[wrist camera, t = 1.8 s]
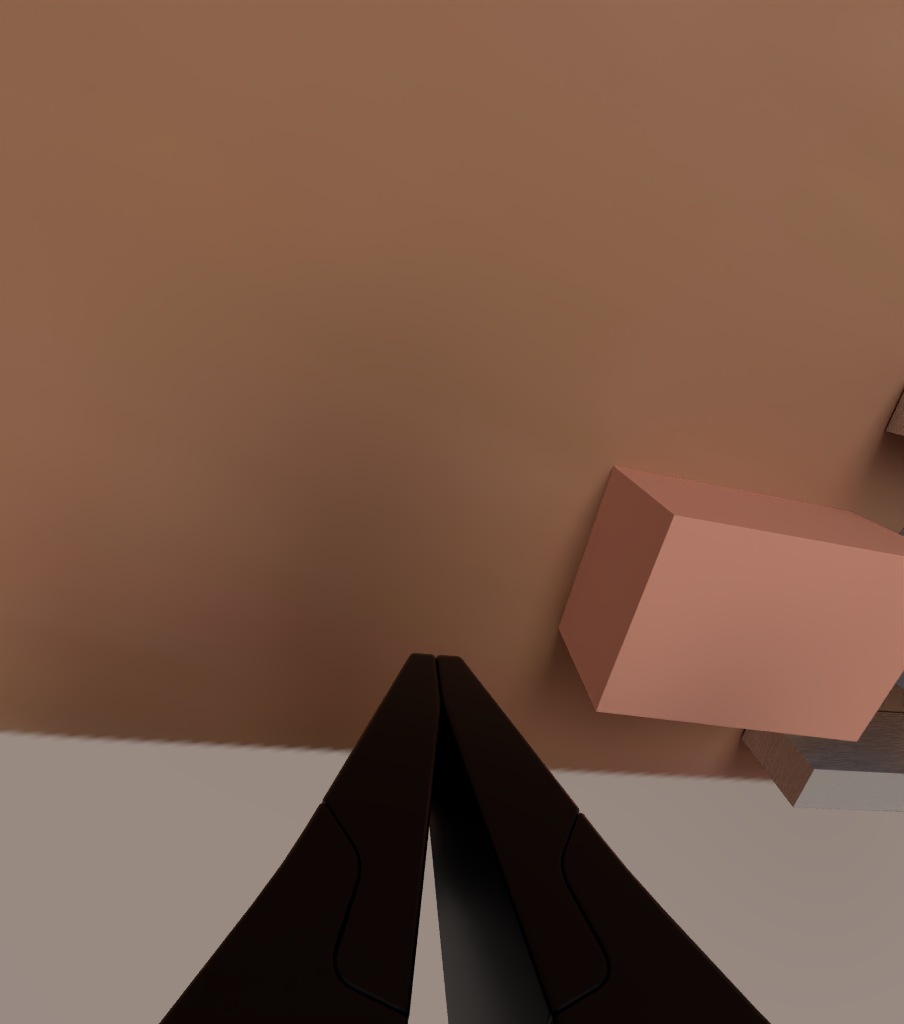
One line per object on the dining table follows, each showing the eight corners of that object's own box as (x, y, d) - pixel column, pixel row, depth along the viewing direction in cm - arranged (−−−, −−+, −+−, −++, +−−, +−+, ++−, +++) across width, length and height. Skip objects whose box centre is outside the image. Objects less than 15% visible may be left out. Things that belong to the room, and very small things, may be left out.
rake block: (843, 508, 14) (970, 568, 11) (766, 653, 16) (856, 741, 13) (610, 463, 13) (674, 515, 10) (556, 623, 15) (595, 711, 12)
